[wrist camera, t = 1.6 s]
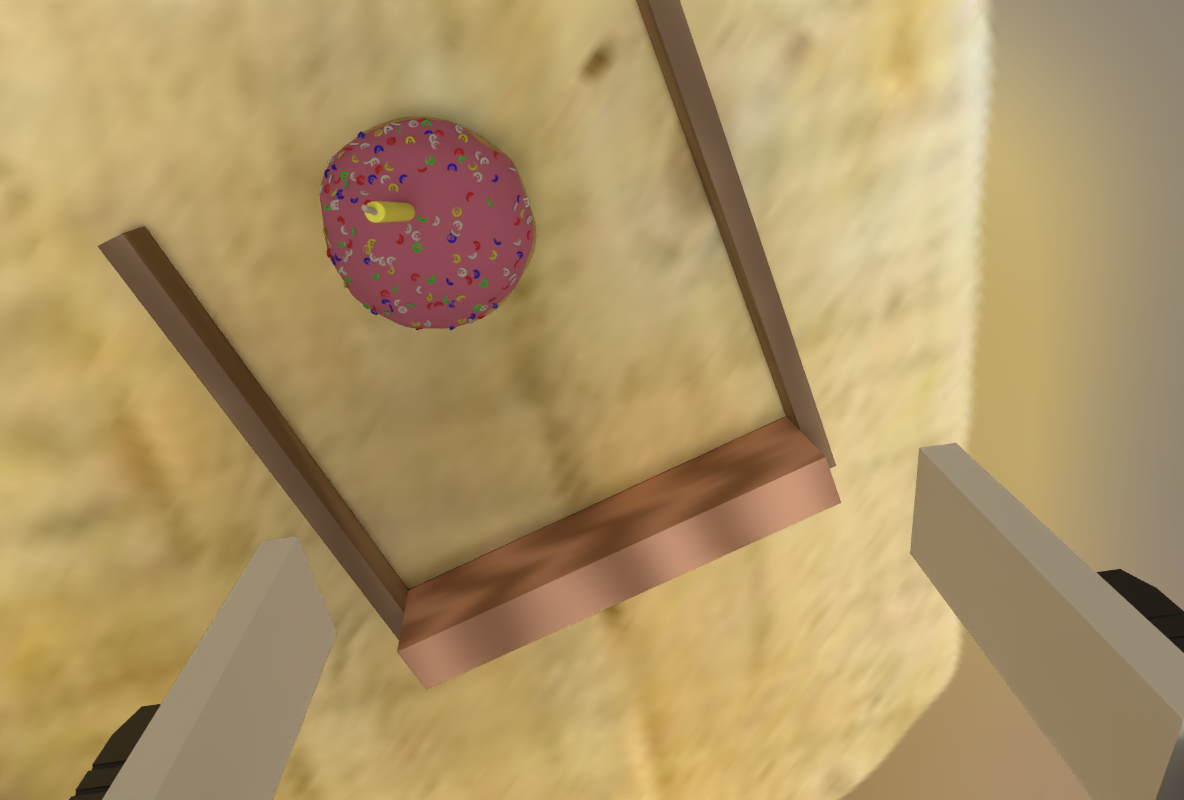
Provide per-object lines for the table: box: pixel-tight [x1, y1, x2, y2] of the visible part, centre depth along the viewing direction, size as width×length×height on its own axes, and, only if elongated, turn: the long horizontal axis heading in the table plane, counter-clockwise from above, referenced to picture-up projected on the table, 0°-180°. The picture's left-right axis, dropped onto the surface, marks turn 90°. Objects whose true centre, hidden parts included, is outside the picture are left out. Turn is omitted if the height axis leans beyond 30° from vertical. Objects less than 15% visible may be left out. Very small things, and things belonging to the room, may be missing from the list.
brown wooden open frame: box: [98, 0, 841, 690], centre depth 33 cm, size 26×26×5 cm
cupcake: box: [320, 117, 536, 330], centre depth 27 cm, size 9×8×12 cm
